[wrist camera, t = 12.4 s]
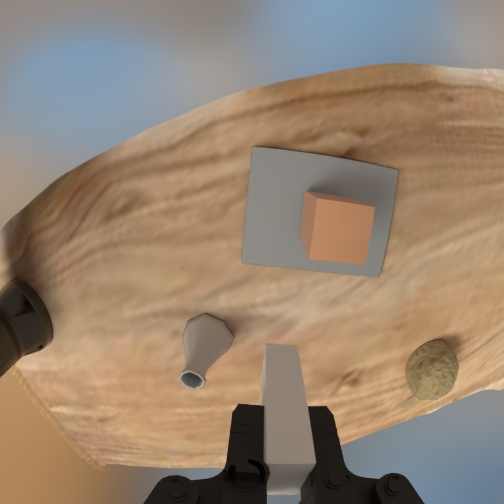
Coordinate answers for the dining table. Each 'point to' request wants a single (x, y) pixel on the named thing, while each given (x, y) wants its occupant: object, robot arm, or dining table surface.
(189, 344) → the flask
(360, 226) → the peach square-faced block
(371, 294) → the dining table surface
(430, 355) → the decorative object
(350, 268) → the grey flat base
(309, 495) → the robot arm
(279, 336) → the dining table surface
